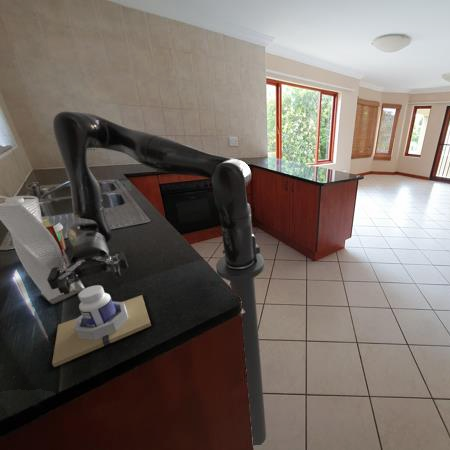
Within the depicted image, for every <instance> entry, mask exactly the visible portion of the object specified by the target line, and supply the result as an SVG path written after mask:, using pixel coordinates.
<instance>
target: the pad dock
mask: <svg viewBox="0 0 450 450" xmlns="http://www.w3.org/2000/svg"><path fill="white" fill-rule="evenodd" d="M112 302H113V304H114V307H115V309H116V312H117V316H116V317H115V318H114V319H113V320H111V321H110V322H108V323H105V324H103V325H100V326H97V327H95V328H88V326H87V324H86V322H85V320H84V318H83V316H82V314H81V315H79V316H78V317H76V318H73V319H70V320H68V321H65V322H63V323H62V322H61V323H60V324H59V323H58V324H57V330H56V337H55V342H54V350H53V357H52V361H51V364H52V366H53V368H56V367H59V366H61V365H63V364H65V363H68V362H71V361H72V360H74V359H77V358H79V357H82V356H84V355H86V354H89V353H91V352H93V351H95V350H98V349H101V348H103V347H105V346H107V345H110V344H112V343H114V342H117V341H119V340H121V339H124V338H127V337H128V336H131V335H133V334H136V333H138V332H140V331H143V330H145V329H147V328H149V327H152V324H151V320H150V317H149V314H148V310H147V307H146V303H145V300H144V297H143V295H142V294H141V295H138V296H135V297H133V298H130V299H127V300H124V301H113V300H112Z"/></svg>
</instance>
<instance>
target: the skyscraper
mask: <svg viewBox="0 0 450 450" xmlns="http://www.w3.org/2000/svg"><path fill="white" fill-rule="evenodd" d="M0 199H4V202H2V203H0V221H1V223H2V224H3V226H5V228H6V229H7V230H8V232H9V233H10V237H11V236H12V238H11V240H12V244H13V247H14V250H15V252H16V255H17V257H18V260H19V261H20V263H21V264H22V266H23V268H24V270H25V272H26V273H27V274H28V276H29V278H30V279H31V280H32V282H33V283H34V284H35V286H36V287H37V288H38V290H39V291H40V295H41V296H42V297H43V298H44V299H45V300H46V301H48V303H50V304H51V305H54V304H55V305H56V304H57V303H59V302H61V301H64V300H65V299H68V298H70V297H73V296H74V295H78V294H79V293H80V292H81V291H82V290H84V289H86V288H87V287H85V286H84V284H83V283H82V281H81V280H79V281H78V282H73V283H72V284H71V285H70V292H69V294H64V293H60V291H59V289H58V288H56V289H51V287H50V285H49V283H48V281H47V279H48V276H49V274H50V272H51V269H53V268H55V267H58V268H59V269H60V270H61V269H65V268H66V267H68V266H69V265H70V264H71V259H70V258H69V255H68V254H66V250H65V251H64V249H63V250H62V251H63V253H64V256H63V255H62V252H61V250H60V248H59V246H58V244H57V242H56V240H55V239H54V237H53V236H52V234H51V233H50V232H49V231H48V229H47V228H46V227H45V226H44V225H43V222H42V219H43V217H42V211H41V206H40V200H39V198H38V196H35V195H15V196H9V197H8V196H5V195H0ZM63 257H64V258H65V260H66V263H67V264H66V266H65V262H64V258H63ZM76 276H78V275H76ZM67 280H69V278H67Z"/></svg>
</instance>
